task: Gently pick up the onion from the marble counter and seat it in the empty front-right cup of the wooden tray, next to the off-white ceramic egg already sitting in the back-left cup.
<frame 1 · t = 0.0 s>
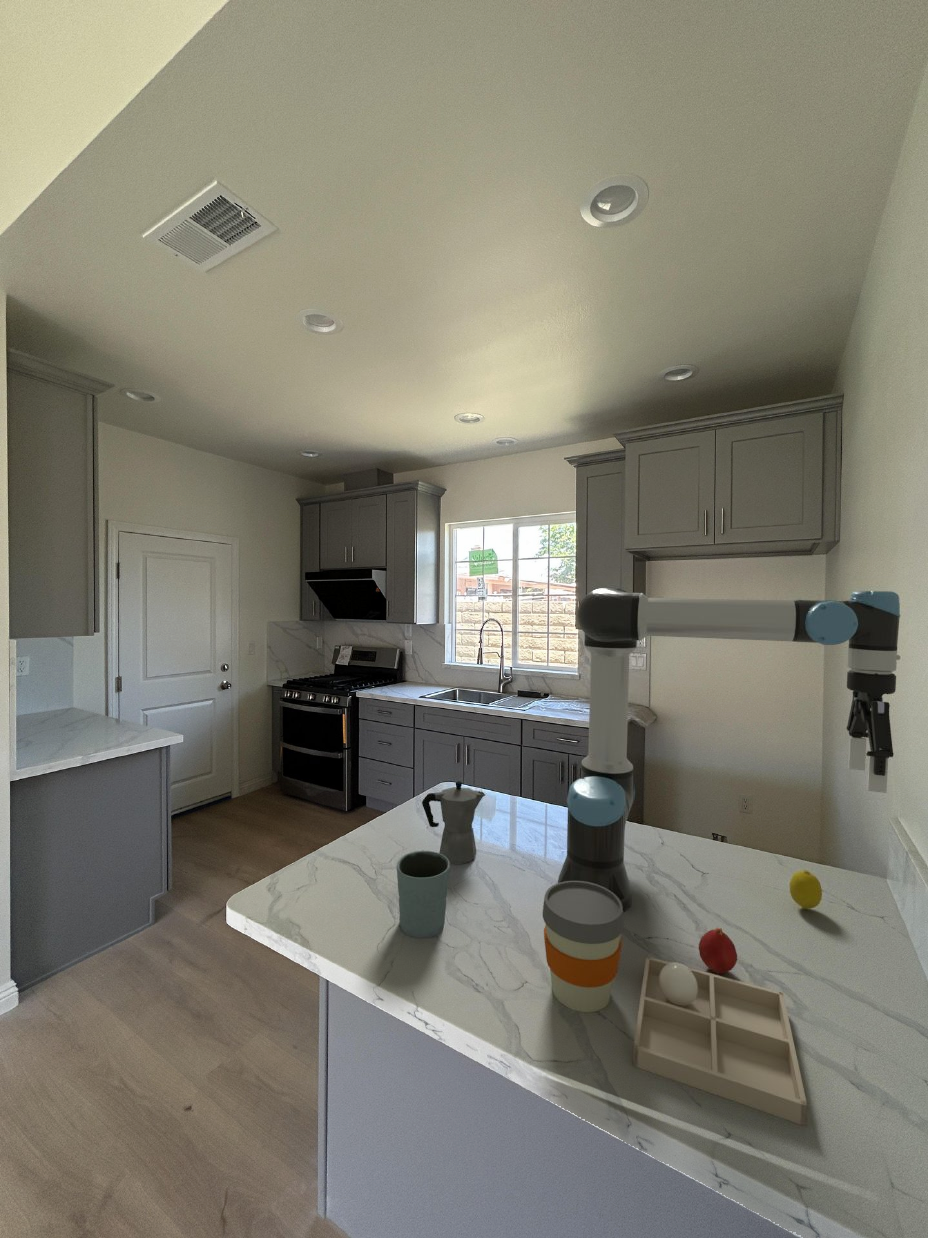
hand: (865, 779, 104), 28 cm above the countertop, fingers open, 13 cm apart
lemon: (804, 910, 109), on the countertop
wooden tray: (712, 1038, 77), on the countertop
coffeepot: (453, 856, 129), on the countertop
ceramic egg: (677, 1001, 83), resting on wooden tray
green cup: (422, 925, 102), on the countertop
onion: (716, 974, 90), on the countertop
reusable coffee cup: (580, 994, 85), on the countertop
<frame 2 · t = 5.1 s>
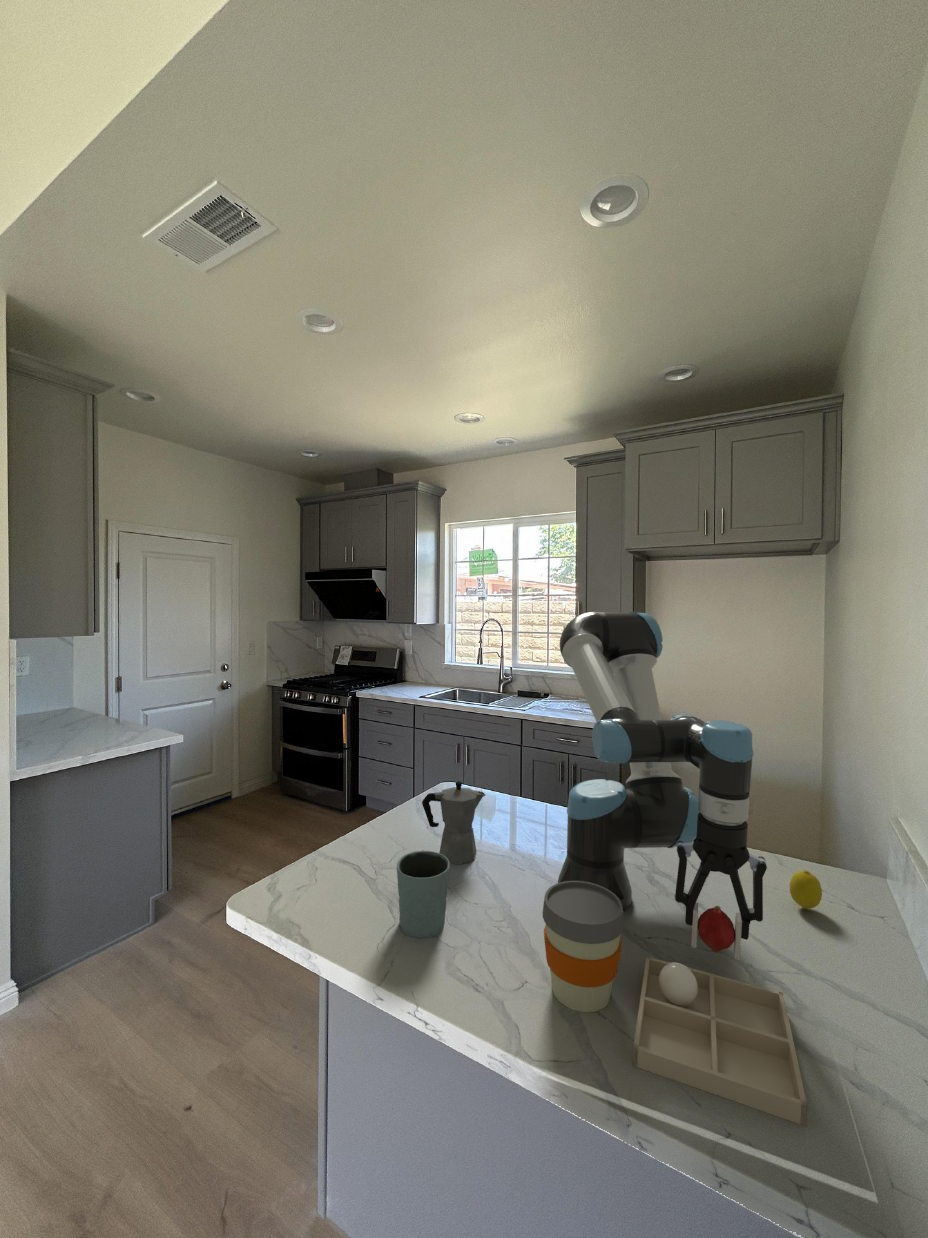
hand: (714, 948, 91), 4 cm above the countertop, fingers closed on onion, 6 cm apart
onion: (714, 951, 91), point 3 cm above the countertop, touching gripper
everything else where it was.
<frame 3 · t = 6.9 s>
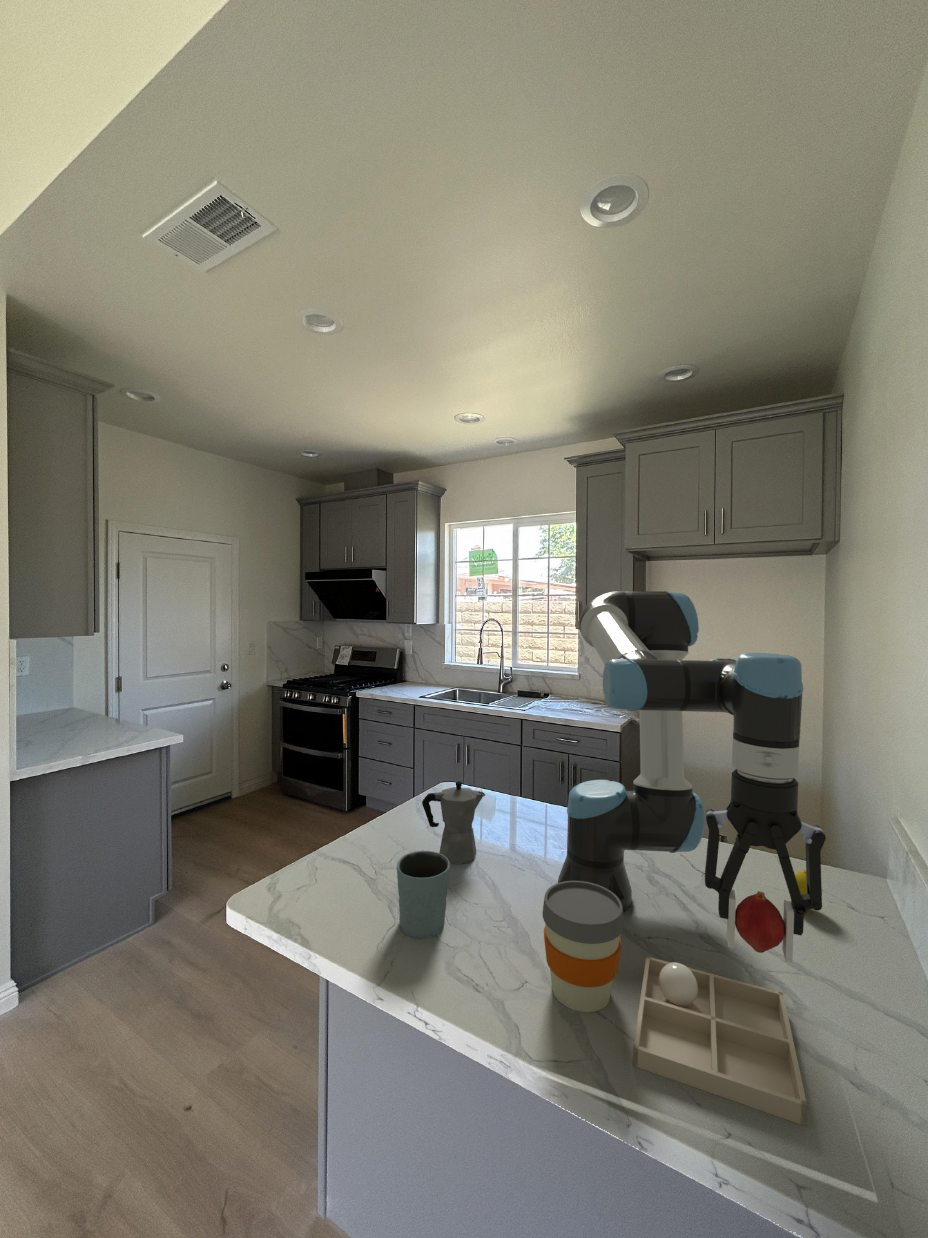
hand: (758, 948, 70), 17 cm above the countertop, fingers closed on onion, 6 cm apart
onion: (758, 952, 70), point 17 cm above the countertop, touching gripper
everything else where it was.
when the fingers open (4 cm above the countertop, at t = 8.7 s): onion drops 4 cm, resting on wooden tray.
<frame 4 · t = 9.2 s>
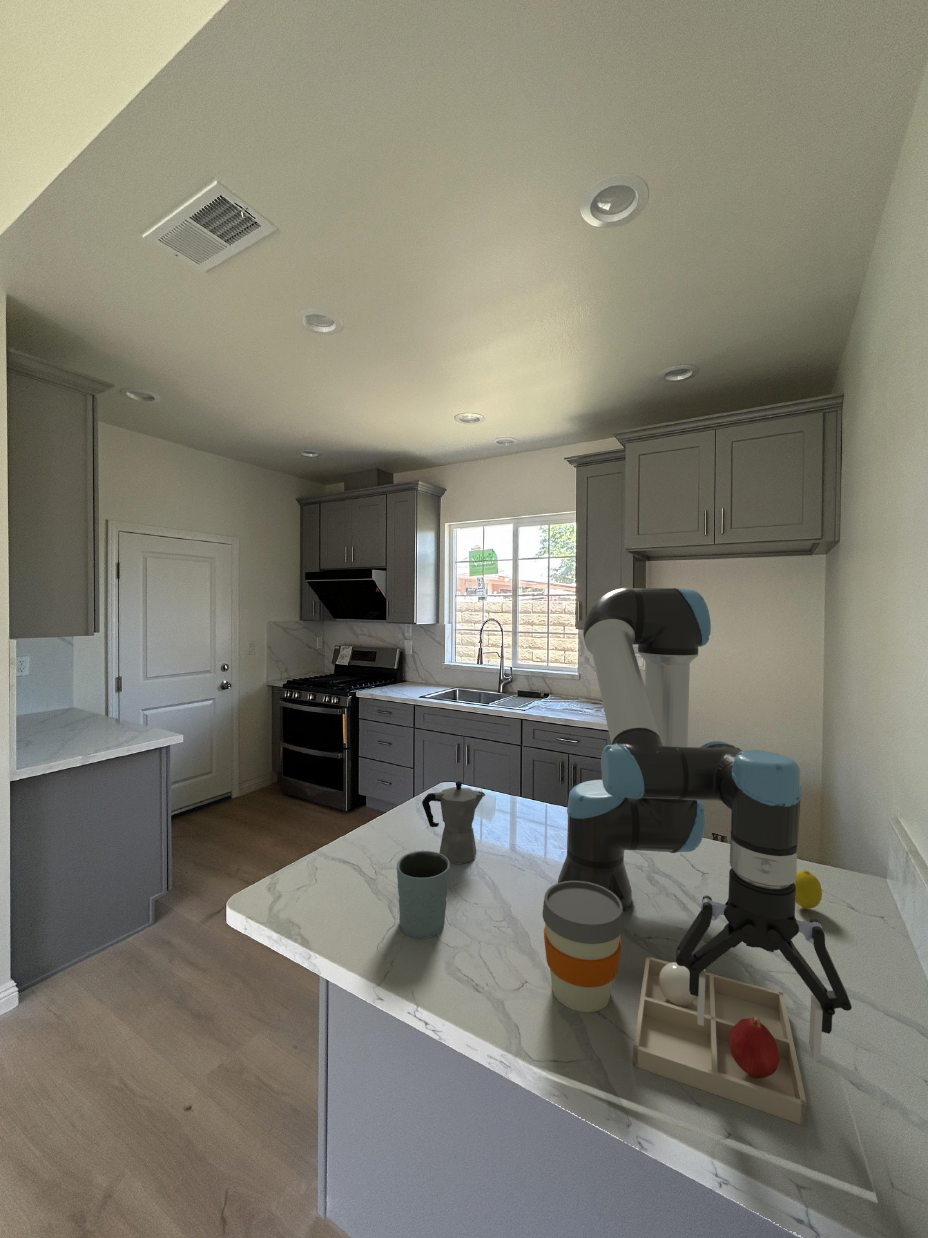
hand: (755, 1034, 70), 6 cm above the countertop, fingers open, 12 cm apart
onion: (751, 1076, 70), resting on wooden tray
everything else where it was.
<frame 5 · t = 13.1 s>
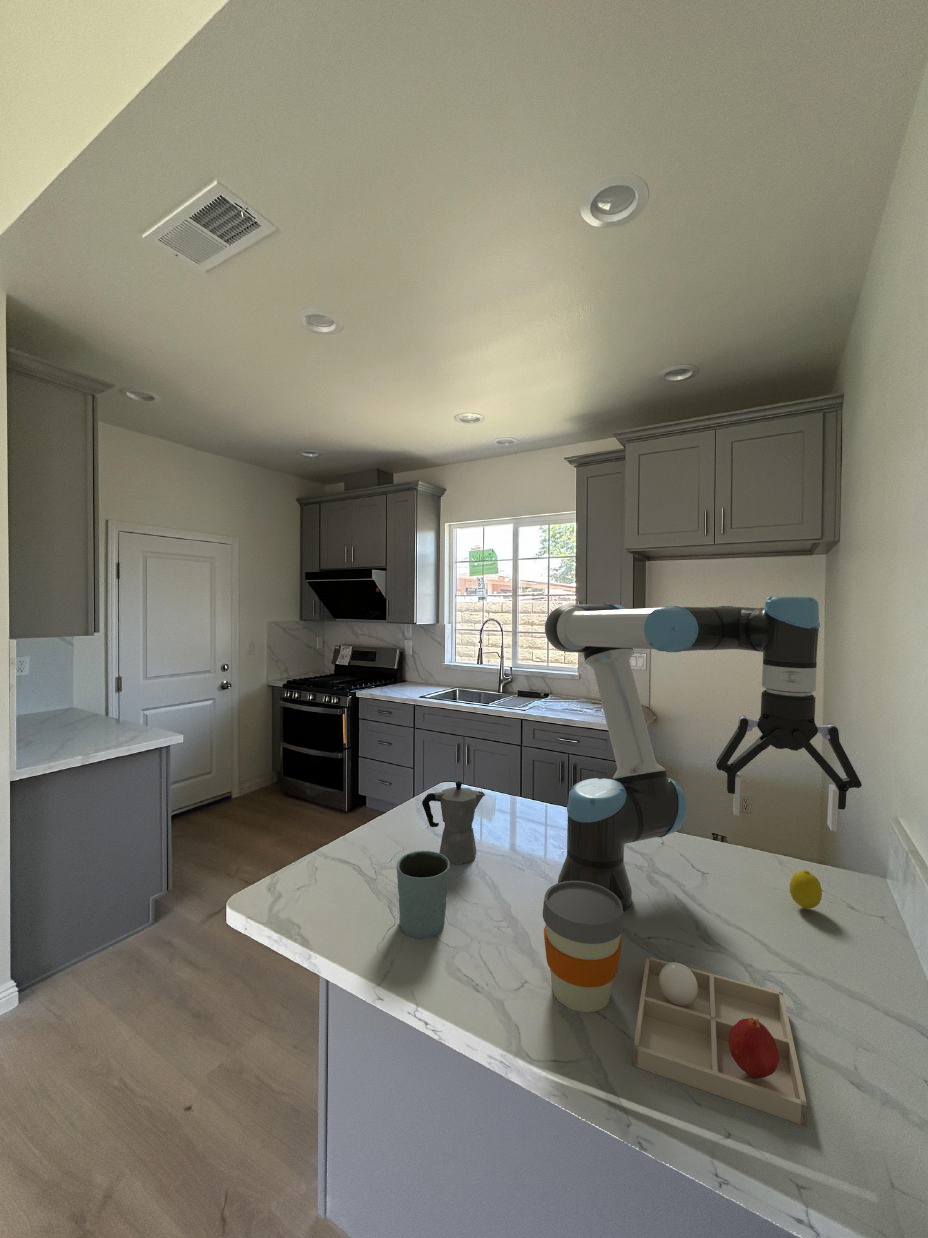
hand: (782, 820, 88), 27 cm above the countertop, fingers open, 13 cm apart
nothing on the countertop moved.
at the end: onion inside the target area on the wooden tray (0.2 cm from its centre), point 0.3 cm above the wooden tray's base; the gripper is holding nothing; ceramic egg inside the target area on the wooden tray (0.0 cm from its centre), point 0.5 cm above the wooden tray's base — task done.
